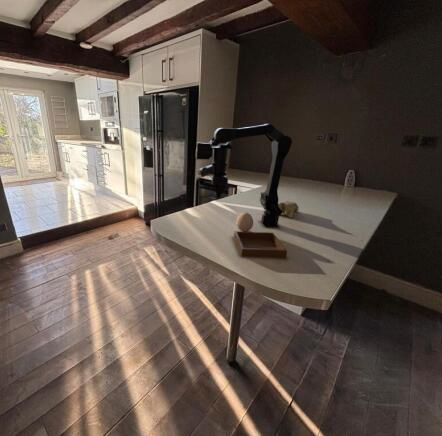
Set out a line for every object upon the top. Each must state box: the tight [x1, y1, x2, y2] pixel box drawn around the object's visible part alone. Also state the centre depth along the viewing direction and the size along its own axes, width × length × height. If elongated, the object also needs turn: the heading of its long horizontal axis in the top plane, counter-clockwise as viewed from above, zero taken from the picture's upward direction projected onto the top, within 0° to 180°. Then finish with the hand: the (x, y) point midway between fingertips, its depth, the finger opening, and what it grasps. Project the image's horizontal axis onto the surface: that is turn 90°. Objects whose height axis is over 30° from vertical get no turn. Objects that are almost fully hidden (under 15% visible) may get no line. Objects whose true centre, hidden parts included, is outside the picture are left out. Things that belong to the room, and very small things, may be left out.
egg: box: [235, 212, 254, 232], centre depth 101 cm, size 7×7×8 cm
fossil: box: [278, 200, 299, 219], centre depth 124 cm, size 15×10×10 cm
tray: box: [233, 230, 288, 259], centre depth 88 cm, size 16×15×3 cm
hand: (217, 195), depth 104 cm, fingers open, 9 cm apart
